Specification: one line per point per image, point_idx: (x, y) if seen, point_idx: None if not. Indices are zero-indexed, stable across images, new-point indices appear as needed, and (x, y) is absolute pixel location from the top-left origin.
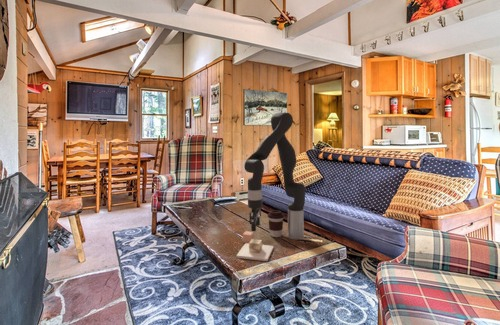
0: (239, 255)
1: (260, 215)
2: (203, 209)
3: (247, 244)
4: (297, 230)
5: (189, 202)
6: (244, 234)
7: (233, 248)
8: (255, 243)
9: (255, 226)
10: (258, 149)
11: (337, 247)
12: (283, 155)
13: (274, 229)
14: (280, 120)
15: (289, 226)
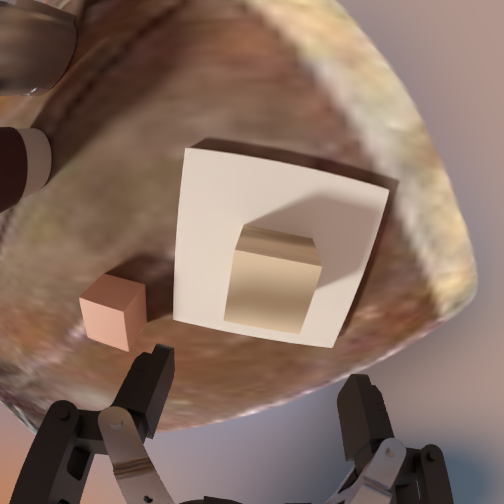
0: (334, 336)
1: (71, 415)
2: (6, 389)
3: (188, 309)
4: (41, 24)
5: (3, 402)
6: (127, 344)
7: (226, 358)
8: (312, 294)
9: (380, 415)
10: None
11: None
12: None
13: (22, 170)
14: None
15: (8, 74)
